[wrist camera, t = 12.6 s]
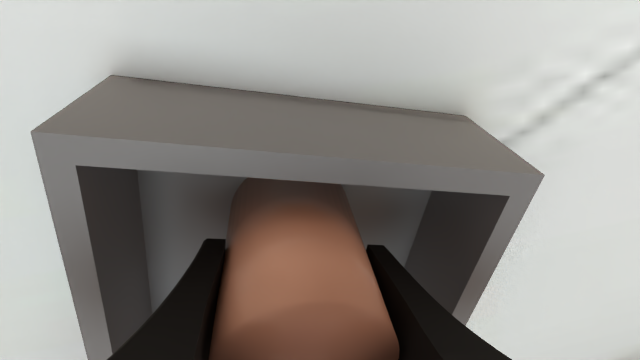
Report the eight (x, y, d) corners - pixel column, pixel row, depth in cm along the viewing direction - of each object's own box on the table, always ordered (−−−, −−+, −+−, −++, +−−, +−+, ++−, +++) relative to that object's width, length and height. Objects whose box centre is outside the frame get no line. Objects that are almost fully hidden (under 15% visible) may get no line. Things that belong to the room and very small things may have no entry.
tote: (371, 370, 24) (394, 460, 19) (148, 377, 21) (119, 482, 17) (465, 115, 15) (544, 175, 11) (110, 75, 13) (30, 131, 8)
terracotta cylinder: (340, 257, 17) (380, 413, 11) (231, 258, 16) (211, 427, 10) (356, 163, 15) (418, 298, 9) (229, 159, 14) (200, 305, 8)
